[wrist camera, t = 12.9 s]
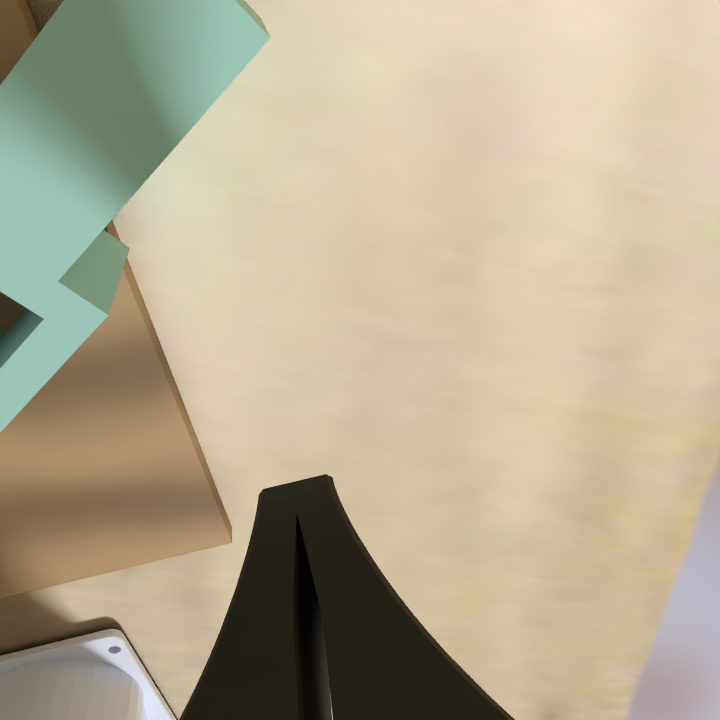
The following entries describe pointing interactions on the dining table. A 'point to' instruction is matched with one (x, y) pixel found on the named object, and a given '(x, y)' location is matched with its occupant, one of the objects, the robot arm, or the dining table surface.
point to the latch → (95, 156)
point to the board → (99, 441)
